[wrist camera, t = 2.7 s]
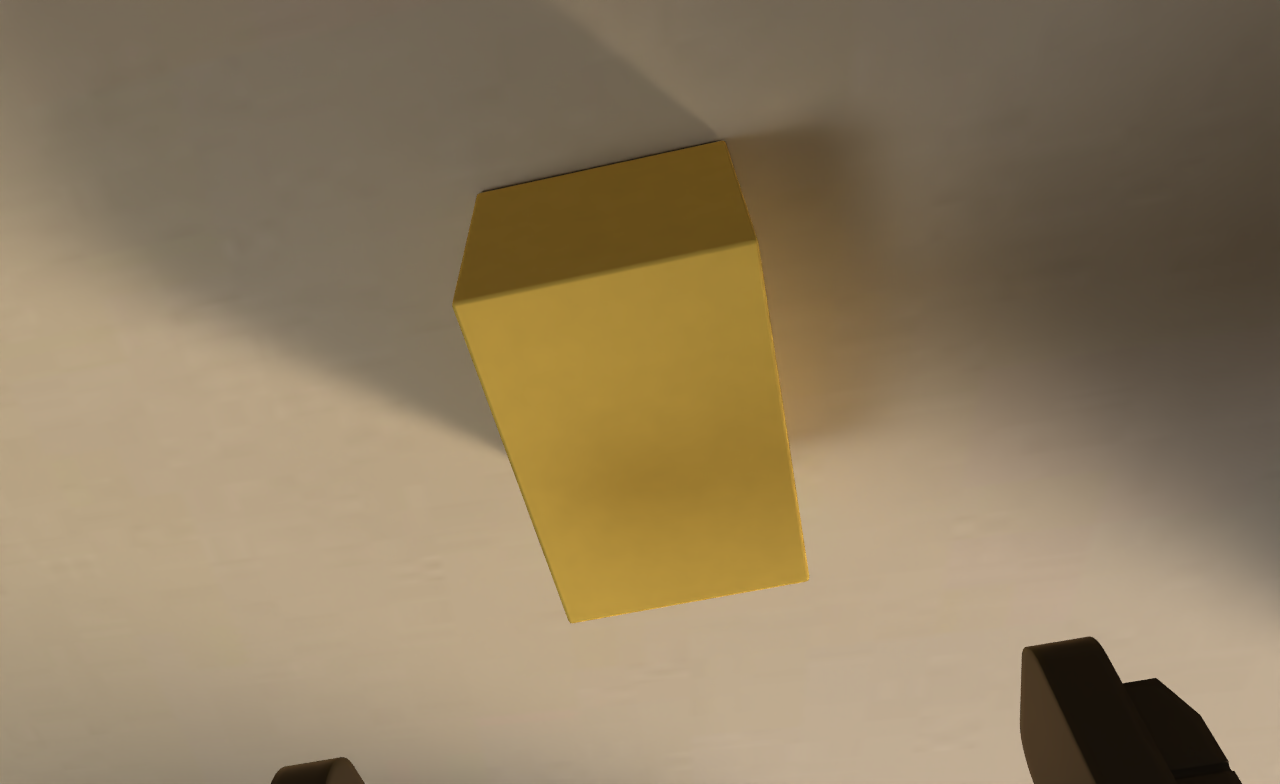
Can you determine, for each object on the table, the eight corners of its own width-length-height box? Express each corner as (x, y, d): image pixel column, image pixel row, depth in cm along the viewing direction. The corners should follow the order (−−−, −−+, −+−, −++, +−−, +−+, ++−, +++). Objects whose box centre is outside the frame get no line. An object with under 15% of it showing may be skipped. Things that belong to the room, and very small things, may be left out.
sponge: (475, 192, 17) (450, 303, 14) (724, 138, 17) (758, 240, 14) (571, 484, 21) (569, 625, 18) (775, 446, 21) (810, 582, 18)
